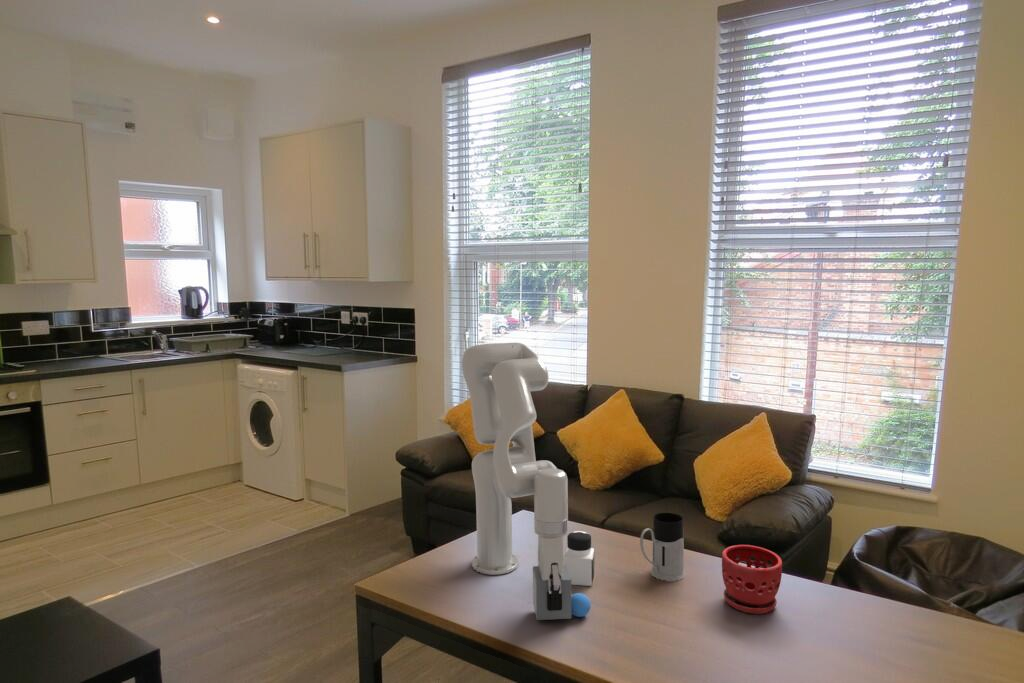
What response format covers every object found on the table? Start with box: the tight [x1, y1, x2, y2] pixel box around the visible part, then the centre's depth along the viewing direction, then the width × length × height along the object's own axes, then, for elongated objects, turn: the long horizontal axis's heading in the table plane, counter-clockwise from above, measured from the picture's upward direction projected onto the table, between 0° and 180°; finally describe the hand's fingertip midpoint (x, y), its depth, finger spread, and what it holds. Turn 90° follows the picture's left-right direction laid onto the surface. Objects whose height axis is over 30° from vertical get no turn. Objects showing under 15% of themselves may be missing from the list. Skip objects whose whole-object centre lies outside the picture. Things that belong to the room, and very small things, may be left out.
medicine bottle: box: [564, 530, 595, 587], centre depth 163 cm, size 7×7×12 cm
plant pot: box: [721, 544, 783, 615], centre depth 148 cm, size 13×13×12 cm
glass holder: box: [639, 512, 686, 582], centre depth 164 cm, size 9×14×15 cm, turn 124°
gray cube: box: [532, 565, 572, 621], centre depth 144 cm, size 8×8×9 cm
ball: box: [571, 592, 592, 618], centre depth 145 cm, size 5×5×5 cm
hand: (552, 600), depth 144 cm, fingers closed on gray cube, 7 cm apart
